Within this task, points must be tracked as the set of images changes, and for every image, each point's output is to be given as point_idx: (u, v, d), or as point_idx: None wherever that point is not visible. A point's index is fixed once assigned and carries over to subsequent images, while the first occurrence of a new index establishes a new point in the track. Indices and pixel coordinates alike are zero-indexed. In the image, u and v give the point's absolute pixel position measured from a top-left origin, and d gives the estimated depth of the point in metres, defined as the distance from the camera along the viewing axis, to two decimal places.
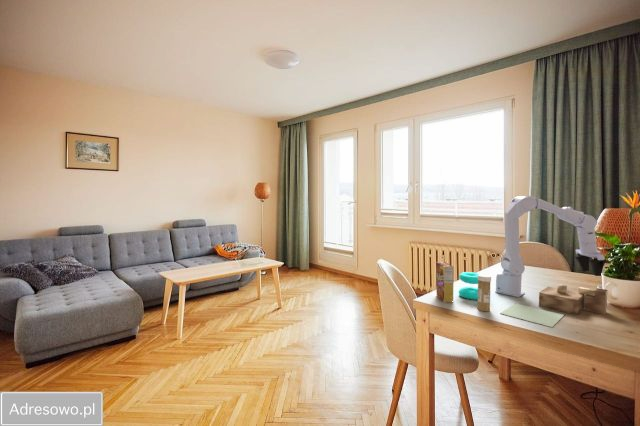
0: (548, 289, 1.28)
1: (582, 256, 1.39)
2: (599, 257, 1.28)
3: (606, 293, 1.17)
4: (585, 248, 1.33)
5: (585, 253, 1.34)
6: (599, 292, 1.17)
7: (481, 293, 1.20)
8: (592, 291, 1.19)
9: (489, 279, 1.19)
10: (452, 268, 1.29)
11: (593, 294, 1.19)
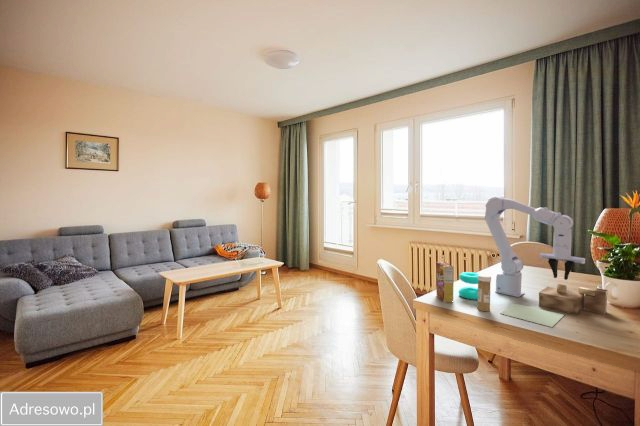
0: (548, 289, 1.28)
1: (556, 261, 1.28)
2: (584, 260, 1.21)
3: (606, 293, 1.17)
4: (566, 252, 1.24)
5: (565, 257, 1.24)
6: (599, 292, 1.17)
7: (481, 293, 1.20)
8: (592, 291, 1.19)
9: (489, 279, 1.19)
10: (452, 268, 1.29)
11: (593, 294, 1.19)
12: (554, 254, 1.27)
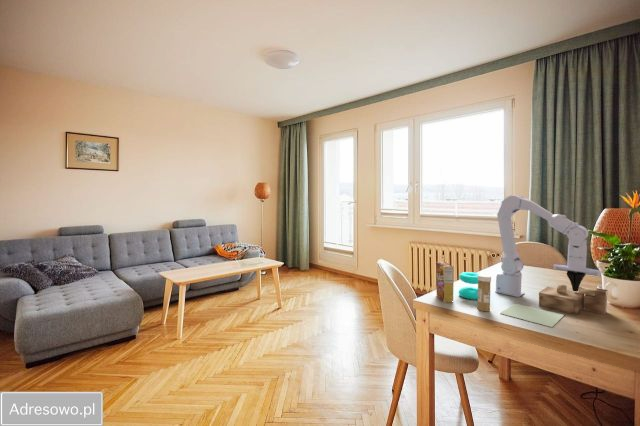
0: (548, 289, 1.28)
1: (574, 274, 1.24)
2: (600, 273, 1.18)
3: (606, 293, 1.17)
4: (581, 263, 1.21)
5: (580, 269, 1.21)
6: (599, 292, 1.17)
7: (481, 293, 1.20)
8: (592, 291, 1.19)
9: (489, 279, 1.19)
10: (452, 268, 1.28)
11: (593, 294, 1.19)
12: (569, 266, 1.24)
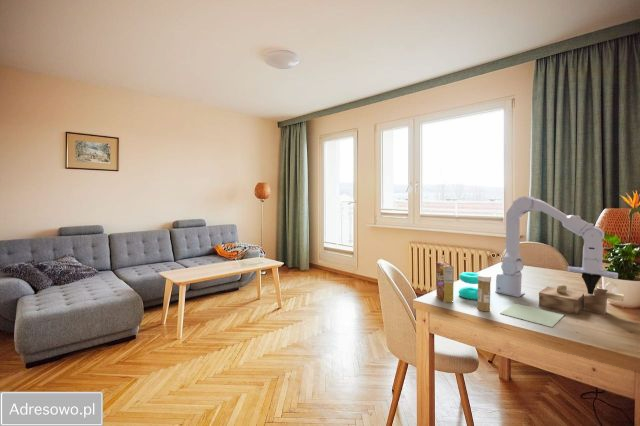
0: (548, 289, 1.28)
1: (590, 276, 1.20)
2: (617, 275, 1.14)
3: (623, 296, 1.14)
4: (597, 266, 1.17)
5: (596, 271, 1.17)
6: (599, 292, 1.17)
7: (481, 293, 1.20)
8: (608, 294, 1.16)
9: (489, 279, 1.19)
10: (452, 268, 1.29)
11: (609, 297, 1.16)
12: (584, 268, 1.20)
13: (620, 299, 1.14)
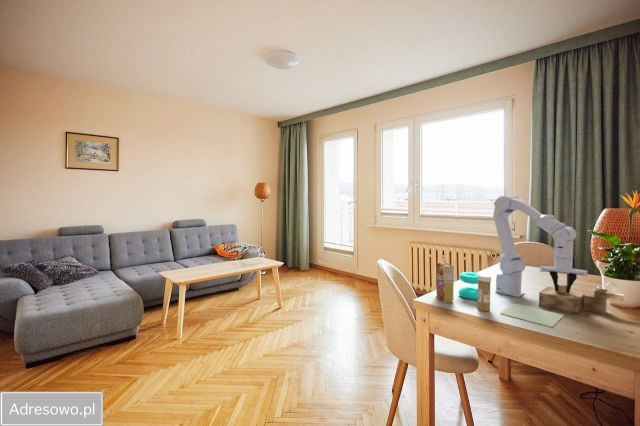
0: (548, 289, 1.28)
1: None
2: (586, 273, 1.19)
3: (623, 296, 1.14)
4: (570, 264, 1.20)
5: (569, 270, 1.20)
6: (599, 292, 1.17)
7: (481, 293, 1.20)
8: (608, 294, 1.16)
9: (489, 279, 1.19)
10: (452, 268, 1.28)
11: (609, 297, 1.16)
12: (557, 267, 1.22)
13: (620, 299, 1.13)
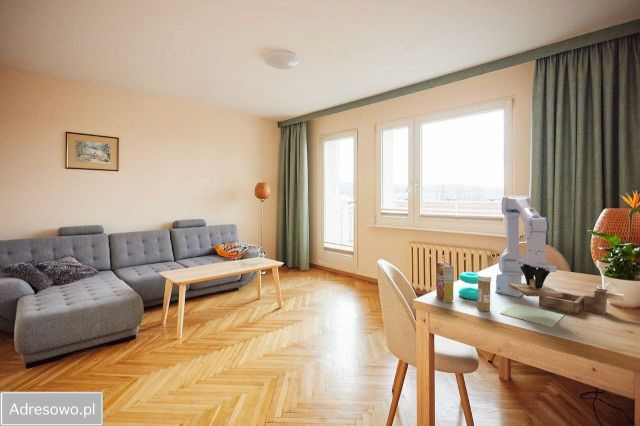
0: None
1: (529, 267, 1.17)
2: (552, 268, 1.08)
3: (623, 296, 1.14)
4: (535, 257, 1.13)
5: (534, 263, 1.13)
6: (599, 292, 1.17)
7: (481, 293, 1.20)
8: (608, 294, 1.16)
9: (489, 279, 1.19)
10: (452, 268, 1.28)
11: (609, 297, 1.16)
12: (526, 259, 1.17)
13: (620, 299, 1.13)
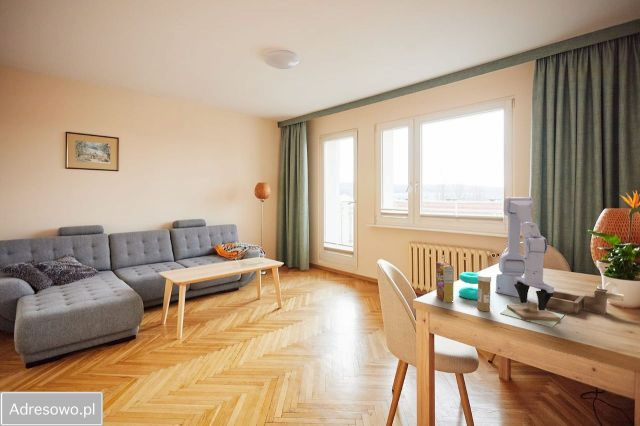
0: None
1: (523, 285, 1.19)
2: (549, 289, 1.08)
3: (623, 296, 1.14)
4: (533, 277, 1.13)
5: (532, 283, 1.13)
6: (599, 292, 1.17)
7: (481, 293, 1.20)
8: (608, 294, 1.16)
9: (489, 279, 1.19)
10: (452, 268, 1.28)
11: (609, 297, 1.16)
12: (524, 279, 1.17)
13: (620, 299, 1.13)
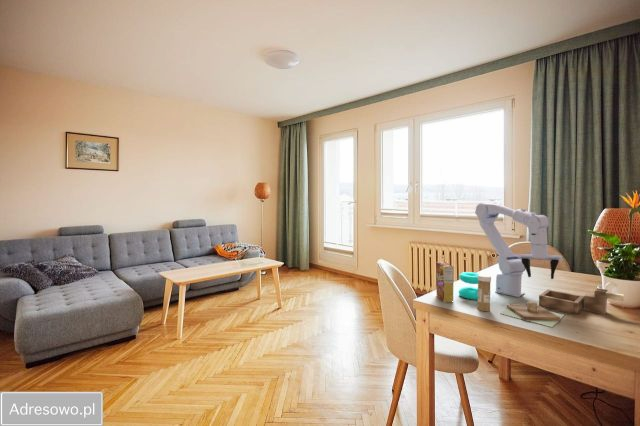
0: None
1: (528, 260, 1.31)
2: (561, 258, 1.23)
3: (623, 296, 1.14)
4: (544, 250, 1.26)
5: (544, 255, 1.26)
6: (599, 292, 1.17)
7: (481, 293, 1.20)
8: (608, 294, 1.16)
9: (489, 279, 1.19)
10: (452, 268, 1.29)
11: (609, 297, 1.16)
12: (533, 254, 1.28)
13: (620, 299, 1.13)
